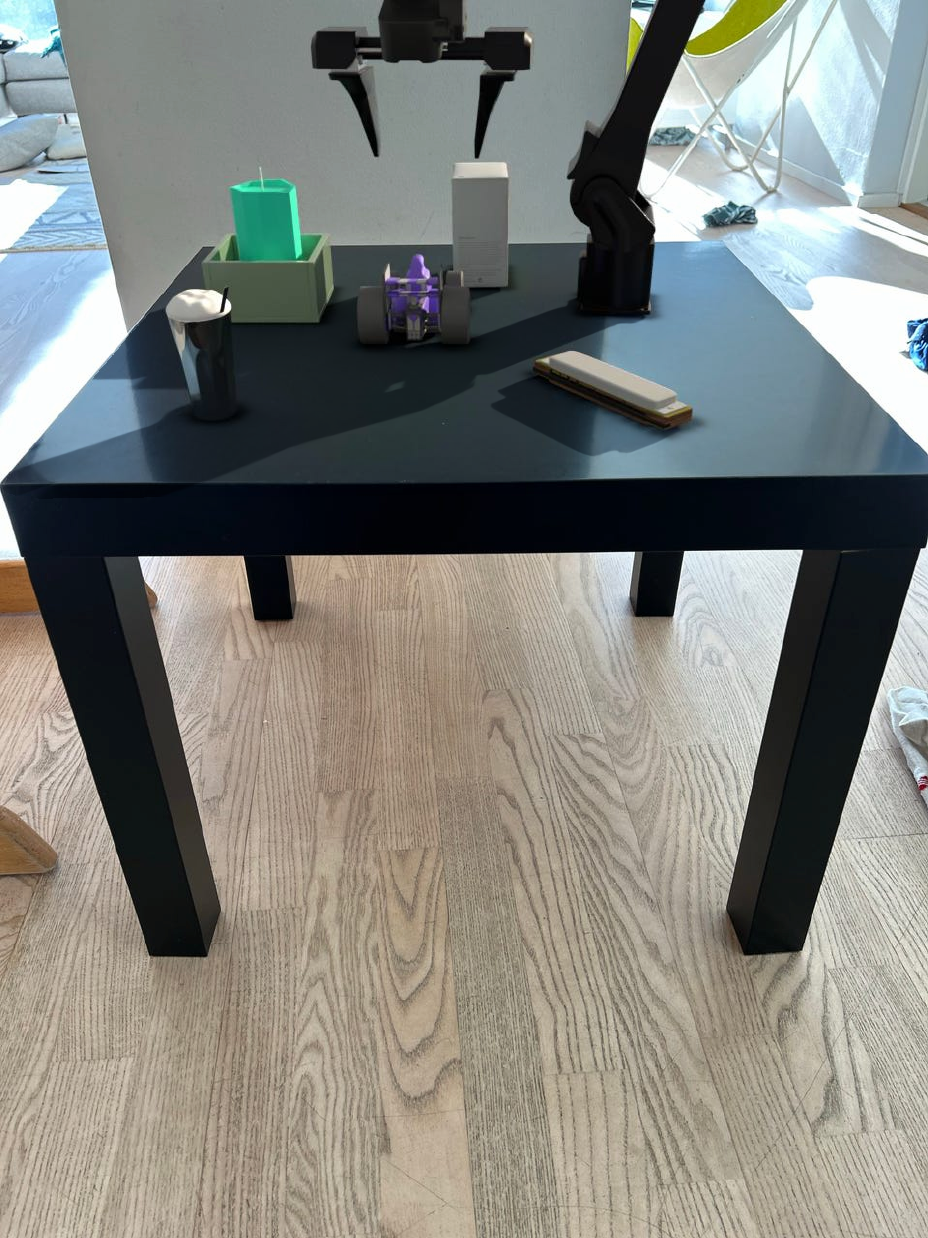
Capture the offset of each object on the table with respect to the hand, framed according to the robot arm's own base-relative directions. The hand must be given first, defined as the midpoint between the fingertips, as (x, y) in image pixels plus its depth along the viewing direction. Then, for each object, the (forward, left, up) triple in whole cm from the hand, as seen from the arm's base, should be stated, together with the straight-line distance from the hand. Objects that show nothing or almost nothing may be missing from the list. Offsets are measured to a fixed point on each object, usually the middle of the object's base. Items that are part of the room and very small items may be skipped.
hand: (427, 156), depth 91 cm
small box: (-4, -8, -13) cm, 16 cm away
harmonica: (-17, +23, -13) cm, 32 cm away
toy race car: (0, +7, -13) cm, 15 cm away
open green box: (+15, +3, -13) cm, 20 cm away
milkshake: (+12, +29, -13) cm, 34 cm away
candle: (+15, +3, -13) cm, 20 cm away
